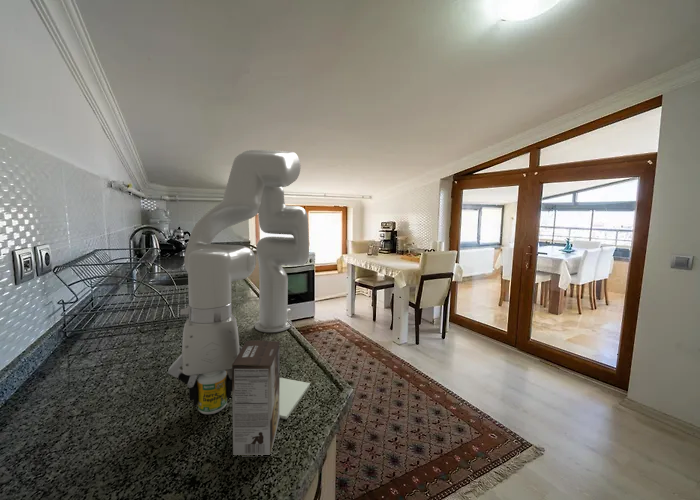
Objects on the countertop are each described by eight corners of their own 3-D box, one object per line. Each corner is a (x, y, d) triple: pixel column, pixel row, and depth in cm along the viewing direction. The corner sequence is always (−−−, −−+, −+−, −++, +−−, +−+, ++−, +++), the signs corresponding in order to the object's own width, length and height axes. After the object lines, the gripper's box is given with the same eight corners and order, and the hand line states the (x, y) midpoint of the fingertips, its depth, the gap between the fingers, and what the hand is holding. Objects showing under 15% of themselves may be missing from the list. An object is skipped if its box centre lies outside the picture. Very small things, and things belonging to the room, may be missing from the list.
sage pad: (263, 376, 72) (263, 374, 72) (310, 385, 69) (310, 383, 69) (232, 407, 60) (232, 404, 60) (286, 419, 57) (286, 416, 57)
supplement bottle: (224, 395, 64) (223, 353, 63) (229, 409, 59) (229, 364, 58) (196, 403, 61) (195, 359, 60) (199, 419, 56) (198, 371, 55)
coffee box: (246, 419, 57) (246, 339, 55) (280, 418, 57) (281, 339, 55) (231, 458, 48) (230, 364, 46) (271, 457, 48) (272, 364, 46)
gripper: (156, 324, 51) (160, 421, 53) (259, 313, 58) (259, 398, 60) (162, 311, 57) (165, 397, 60) (253, 302, 65) (253, 380, 67)
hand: (212, 397), depth 60 cm, fingers closed on supplement bottle, 5 cm apart
